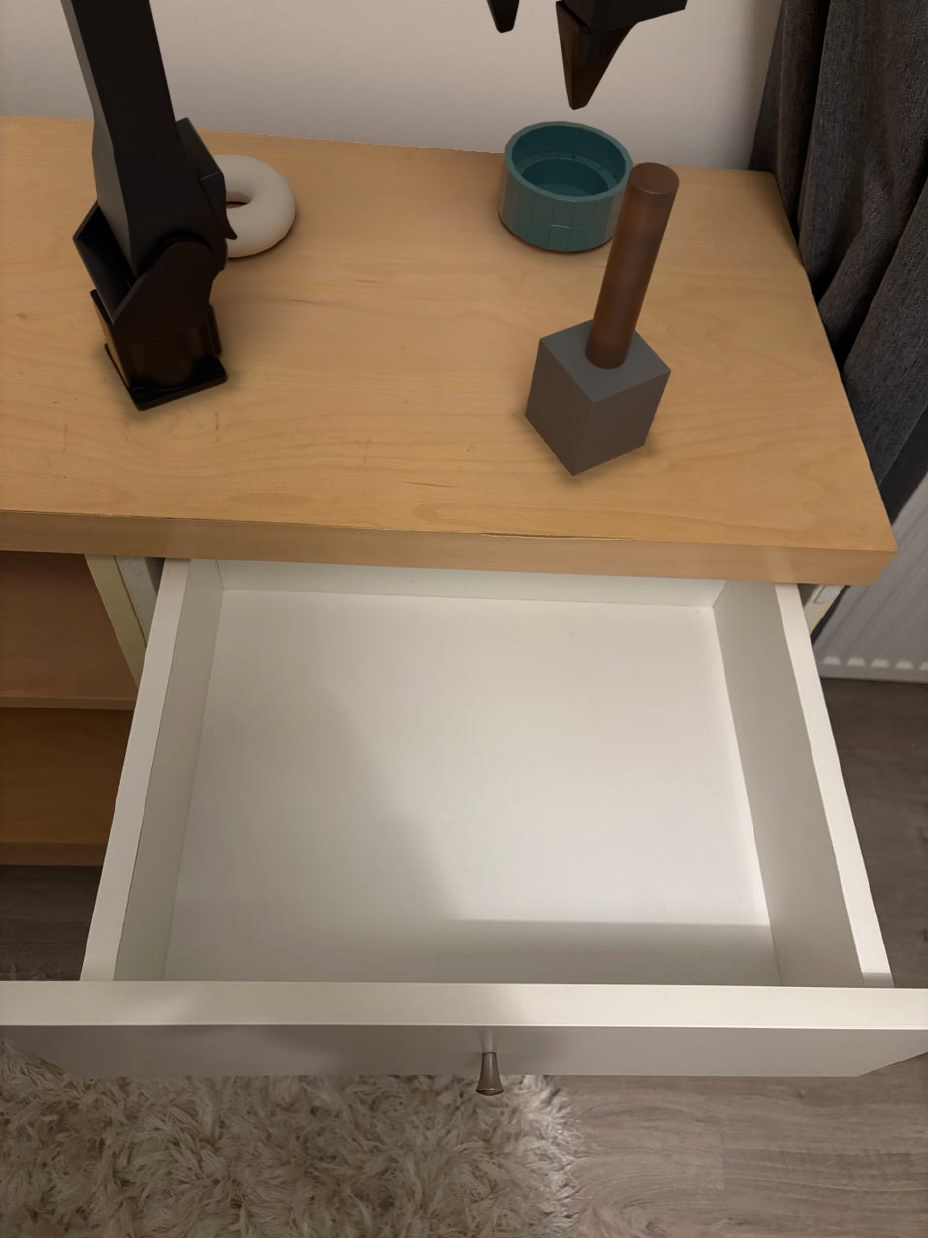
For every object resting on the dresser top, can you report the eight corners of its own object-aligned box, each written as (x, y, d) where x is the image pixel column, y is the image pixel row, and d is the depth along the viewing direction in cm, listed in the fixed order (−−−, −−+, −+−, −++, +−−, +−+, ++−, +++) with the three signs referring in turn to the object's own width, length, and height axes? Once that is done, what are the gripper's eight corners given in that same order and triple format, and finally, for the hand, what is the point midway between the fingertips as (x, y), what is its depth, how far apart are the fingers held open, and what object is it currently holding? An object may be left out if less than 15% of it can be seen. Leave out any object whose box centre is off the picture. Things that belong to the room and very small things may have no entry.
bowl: (540, 271, 70) (550, 215, 66) (474, 197, 74) (480, 138, 70) (642, 236, 73) (658, 179, 69) (574, 166, 77) (585, 108, 73)
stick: (600, 374, 56) (649, 198, 45) (576, 347, 57) (619, 169, 46) (634, 361, 56) (690, 185, 46) (610, 334, 57) (659, 156, 47)
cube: (572, 476, 60) (593, 402, 54) (524, 415, 63) (539, 338, 57) (644, 445, 62) (672, 370, 56) (595, 387, 65) (616, 309, 59)
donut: (240, 169, 74) (139, 219, 70) (235, 128, 71) (129, 178, 67) (324, 229, 71) (223, 285, 67) (322, 189, 68) (217, 245, 64)
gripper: (825, -206, 43) (727, 116, 56) (611, -343, 50) (571, -30, 64) (627, -165, 40) (575, 164, 53) (433, -317, 47) (431, 5, 61)
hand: (540, 67), depth 58 cm, fingers open, 9 cm apart
